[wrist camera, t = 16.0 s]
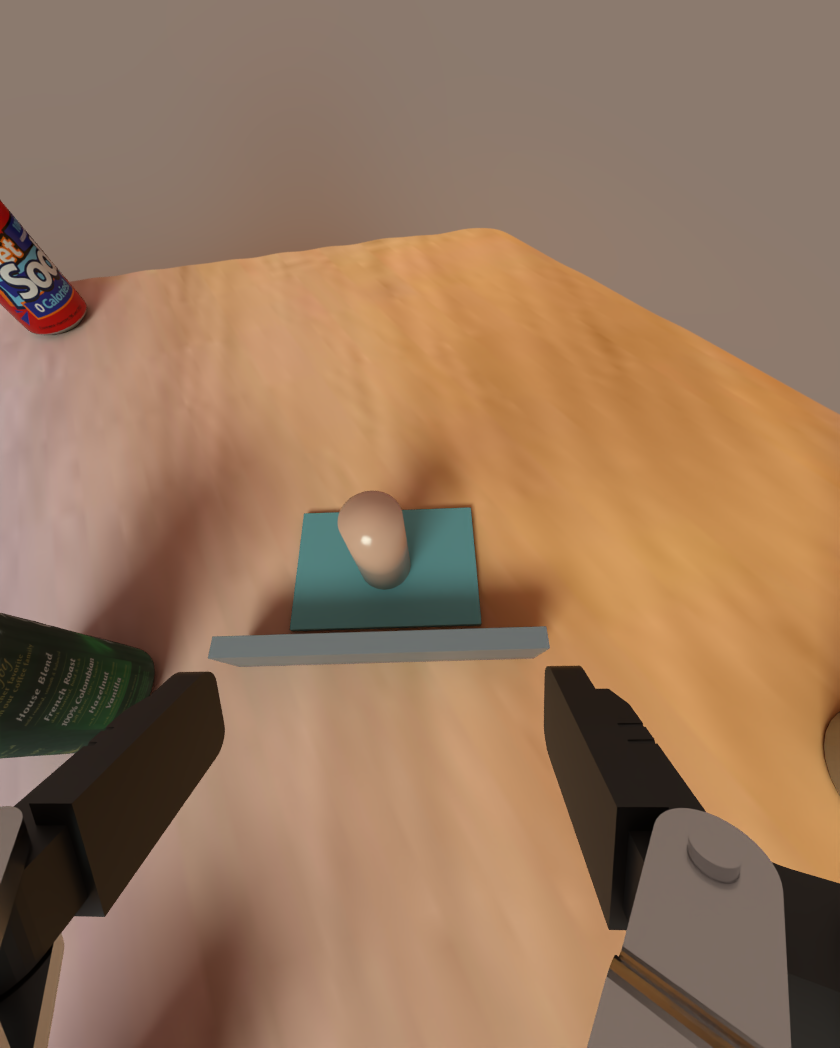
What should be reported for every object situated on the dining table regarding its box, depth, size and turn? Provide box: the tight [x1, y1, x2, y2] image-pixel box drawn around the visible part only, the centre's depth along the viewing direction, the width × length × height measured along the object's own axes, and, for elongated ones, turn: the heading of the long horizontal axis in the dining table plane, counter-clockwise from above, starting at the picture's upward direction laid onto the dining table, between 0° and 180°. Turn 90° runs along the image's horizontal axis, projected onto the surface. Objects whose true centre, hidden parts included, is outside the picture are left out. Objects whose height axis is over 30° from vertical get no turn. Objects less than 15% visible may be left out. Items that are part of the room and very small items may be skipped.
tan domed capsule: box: [338, 491, 411, 590], centre depth 31 cm, size 4×4×9 cm
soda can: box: [0, 200, 87, 335], centre depth 46 cm, size 8×8×15 cm
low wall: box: [208, 626, 550, 667], centre depth 30 cm, size 24×2×5 cm, turn 91°
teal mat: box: [290, 508, 481, 631], centre depth 35 cm, size 16×11×1 cm
